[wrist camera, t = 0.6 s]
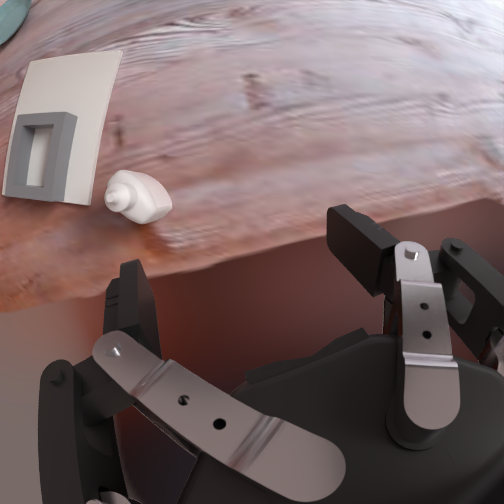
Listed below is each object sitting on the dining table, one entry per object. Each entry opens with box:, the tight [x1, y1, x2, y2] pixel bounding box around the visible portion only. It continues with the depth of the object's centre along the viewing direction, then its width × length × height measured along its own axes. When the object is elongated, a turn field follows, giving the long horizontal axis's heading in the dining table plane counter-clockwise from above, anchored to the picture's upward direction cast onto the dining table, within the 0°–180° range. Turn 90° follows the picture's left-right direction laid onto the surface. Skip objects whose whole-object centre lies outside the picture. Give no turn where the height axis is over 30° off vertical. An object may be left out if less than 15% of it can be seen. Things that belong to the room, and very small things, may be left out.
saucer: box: [0, 0, 32, 45], centre depth 25 cm, size 12×12×2 cm
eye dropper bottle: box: [104, 170, 172, 224], centre depth 27 cm, size 4×6×12 cm
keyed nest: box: [2, 50, 123, 205], centre depth 29 cm, size 20×16×4 cm
